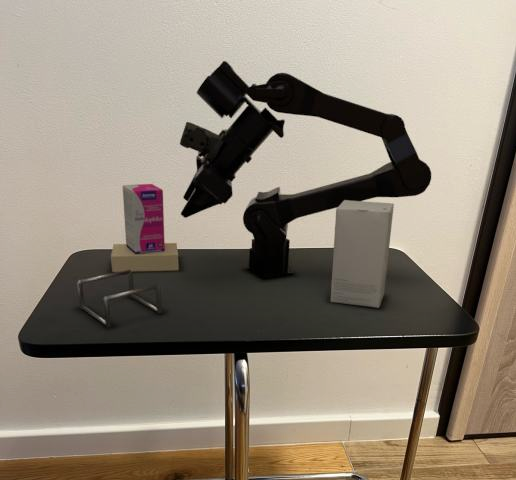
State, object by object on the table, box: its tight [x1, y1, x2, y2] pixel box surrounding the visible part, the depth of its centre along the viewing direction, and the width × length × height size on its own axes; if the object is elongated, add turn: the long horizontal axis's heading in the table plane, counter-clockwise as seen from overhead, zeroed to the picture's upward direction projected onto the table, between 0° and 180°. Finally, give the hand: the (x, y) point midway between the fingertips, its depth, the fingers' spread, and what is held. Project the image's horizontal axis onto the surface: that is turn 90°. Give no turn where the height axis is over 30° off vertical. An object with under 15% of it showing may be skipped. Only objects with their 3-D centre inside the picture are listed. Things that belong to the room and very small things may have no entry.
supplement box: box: [122, 183, 166, 254], centre depth 99 cm, size 6×6×12 cm
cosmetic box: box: [330, 200, 395, 309], centre depth 86 cm, size 8×7×16 cm
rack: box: [76, 270, 163, 329], centre depth 82 cm, size 9×9×5 cm
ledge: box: [110, 242, 180, 273], centre depth 102 cm, size 12×8×3 cm, turn 100°
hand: (184, 207), depth 96 cm, fingers open, 9 cm apart
